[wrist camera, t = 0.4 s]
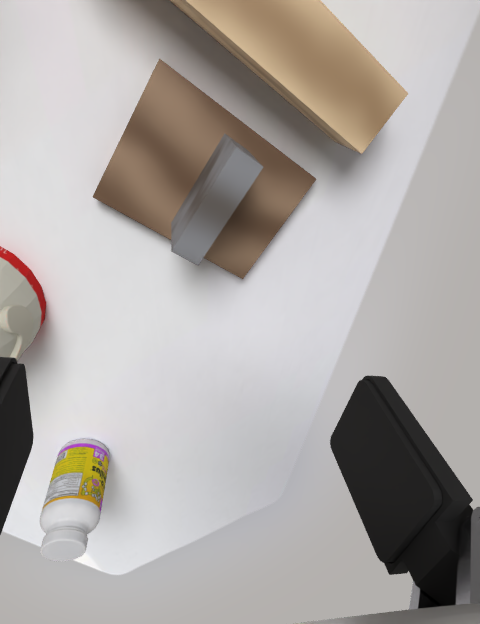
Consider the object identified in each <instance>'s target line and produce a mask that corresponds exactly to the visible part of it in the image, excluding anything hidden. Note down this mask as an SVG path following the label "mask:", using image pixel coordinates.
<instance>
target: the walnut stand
mask: <svg viewBox="0 0 480 624" xmlns="http://www.w3.org/2000/svg"><path fill="white" fill-rule="evenodd" d="M315 180H316V178H314V177H313V176H312V175H310V174H309V173H308V172H307V171H305V170H304V169H303V168H301V167H300V166H299V165H297V164H296V163H295V162H294V161H292V160H291V159H290V158H288V157H287V156H286V155H284V154H283V153H282V152H280V151H279V150H278V149H277V148H275V147H274V146H273V145H271V144H270V143H269V142H267V141H266V140H265V139H264V138H262V137H261V136H260V135H258V134H257V133H256V132H254V131H253V130H252V129H251V128H249V127H248V126H247V125H245V124H244V123H243V122H241V121H240V120H239V119H237V118H236V117H235V116H234V115H232V114H231V113H230V112H228V111H227V110H226V109H224V108H223V107H222V106H221V105H219V104H218V103H217V102H215V101H214V100H213V99H211V98H210V97H209V96H207V95H206V94H205V93H204V92H202V91H201V90H200V89H198V88H197V87H196V86H194V85H193V84H192V83H191V82H189V81H188V80H187V79H185V78H184V77H183V76H181V75H180V74H179V73H177V72H176V71H175V70H174V69H172V68H171V67H170V66H168V65H167V64H166V63H164V62H163V61H162V60H161V59H159V61H158V63H157V65H156V67H155V69H154V71H153V73H152V75H151V77H150V79H149V81H148V83H147V85H146V87H145V90H144V92H143V94H142V96H141V98H140V100H139V102H138V104H137V106H136V108H135V110H134V112H133V114H132V116H131V119H130V121H129V123H128V125H127V127H126V129H125V131H124V133H123V135H122V137H121V139H120V141H119V143H118V145H117V147H116V150H115V152H114V154H113V156H112V158H111V160H110V162H109V164H108V166H107V168H106V170H105V172H104V174H103V176H102V178H101V181H100V183H99V185H98V187H97V189H96V191H95V193H94V195H93V198H95V199H97V200H99V201H101V202H103V203H104V204H106V205H108V206H110V207H112V208H114V209H115V210H117V211H119V212H121V213H123V214H124V215H126V216H128V217H130V218H132V219H134V220H135V221H137V222H139V223H141V224H143V225H145V226H146V227H148V228H150V229H152V230H154V231H156V232H157V233H159V234H161V235H163V236H165V237H167V238H168V239H170V240H171V242H172V252H174V253H175V254H177V255H179V256H181V257H183V258H185V259H187V260H189V261H190V262H192V263H194V264H196V265H199V263H200V262H201V260H202V259H203V258H205V259H207V260H209V261H210V262H212V263H214V264H216V265H218V266H220V267H221V268H223V269H225V270H227V271H229V272H231V273H232V274H234V275H236V276H238V277H240V278H242V279H243V278H244V277H245V275H246V274H247V273H248V271H249V270H250V268H251V267H252V266H253V264H254V263H255V262H256V260H257V259H258V258H259V256H260V255H261V254H262V252H263V251H264V249H265V248H266V247H267V245H268V244H269V243H270V241H271V240H272V239H273V237H274V236H275V235H276V233H277V232H278V230H279V229H280V228H281V226H282V225H283V224H284V222H285V221H286V220H287V218H288V217H289V216H290V214H291V213H292V211H293V210H294V209H295V207H296V206H297V205H298V203H299V202H300V201H301V199H302V198H303V196H304V195H305V194H306V192H307V191H308V190H309V188H310V187H311V186H312V184H313V183H314V182H315Z"/></svg>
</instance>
